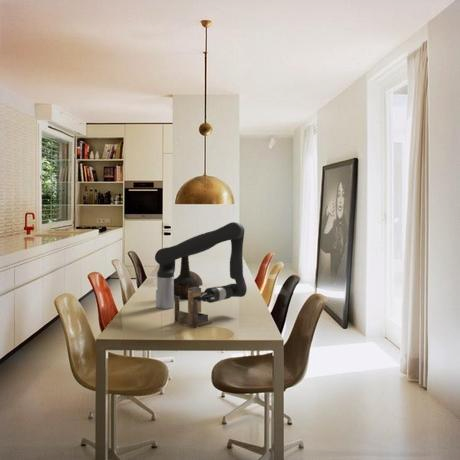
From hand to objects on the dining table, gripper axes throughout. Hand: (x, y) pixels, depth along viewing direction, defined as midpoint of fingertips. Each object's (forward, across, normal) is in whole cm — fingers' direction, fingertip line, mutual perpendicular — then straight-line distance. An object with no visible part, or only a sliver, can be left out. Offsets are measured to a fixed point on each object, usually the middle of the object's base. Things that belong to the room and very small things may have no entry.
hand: (190, 299), depth 263 cm
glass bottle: (-44, -53, +13) cm, 70 cm away
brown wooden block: (-3, 0, +7) cm, 8 cm away
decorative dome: (-76, -84, +13) cm, 114 cm away
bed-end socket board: (-2, 0, +12) cm, 12 cm away
